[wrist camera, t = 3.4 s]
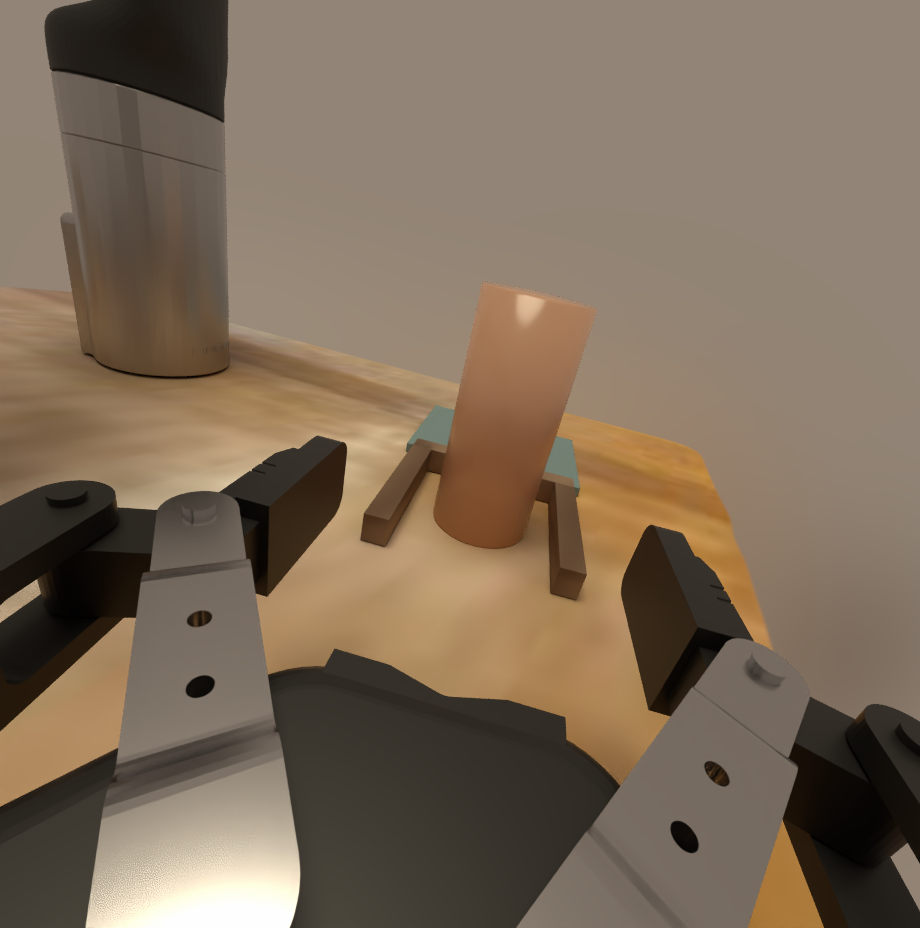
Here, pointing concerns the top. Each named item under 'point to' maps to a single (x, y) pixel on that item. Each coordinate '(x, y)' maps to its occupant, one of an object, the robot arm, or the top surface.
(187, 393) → the top surface
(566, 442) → the mat
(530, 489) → the tall tan cylinder
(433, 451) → the holder
